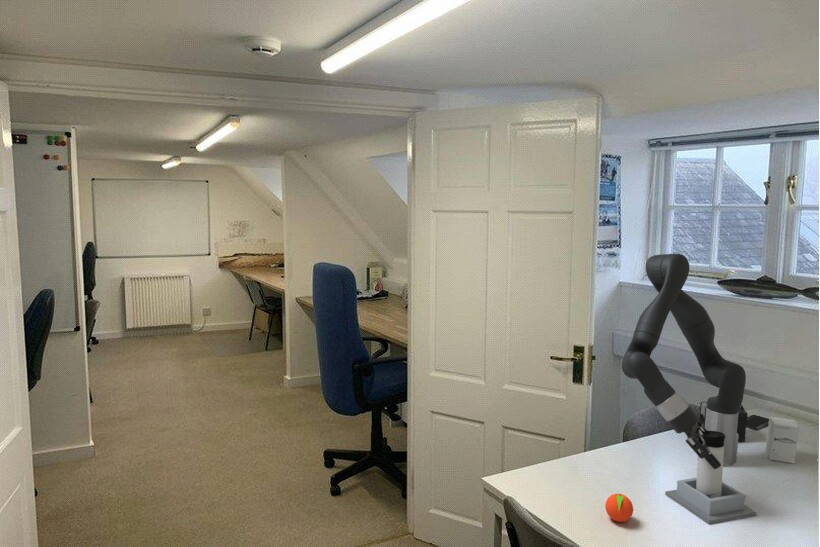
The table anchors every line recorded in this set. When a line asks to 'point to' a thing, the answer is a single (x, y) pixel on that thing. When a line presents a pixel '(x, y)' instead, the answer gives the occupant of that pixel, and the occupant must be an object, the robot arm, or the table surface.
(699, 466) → the travel mug
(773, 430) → the supplement box
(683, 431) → the robot arm
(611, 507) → the clementine
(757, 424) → the phone
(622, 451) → the table surface
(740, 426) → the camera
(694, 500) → the mug dock
